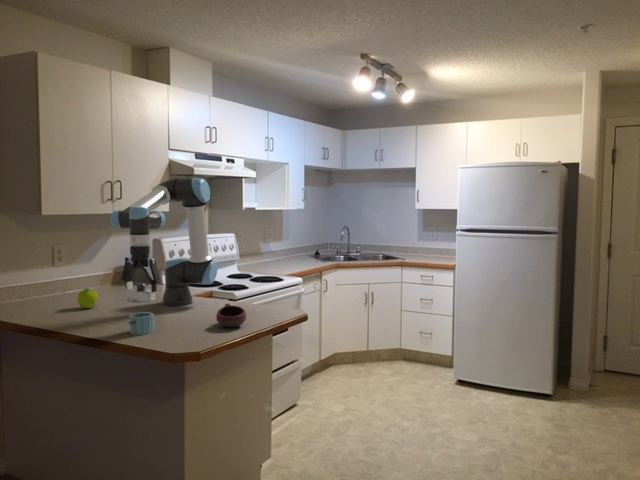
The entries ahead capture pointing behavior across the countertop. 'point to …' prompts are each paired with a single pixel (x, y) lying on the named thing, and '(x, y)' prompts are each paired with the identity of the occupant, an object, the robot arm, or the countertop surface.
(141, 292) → the lid
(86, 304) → the fruit
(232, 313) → the bowl
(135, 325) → the pot
